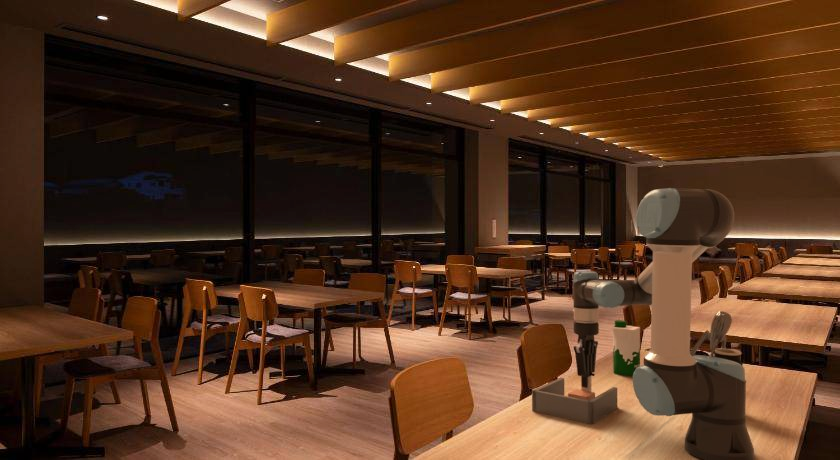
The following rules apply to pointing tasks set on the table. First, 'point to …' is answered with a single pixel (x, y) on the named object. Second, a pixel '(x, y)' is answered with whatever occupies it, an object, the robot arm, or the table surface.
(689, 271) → the robot arm
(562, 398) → the bin
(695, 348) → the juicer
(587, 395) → the tile block
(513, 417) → the table surface
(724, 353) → the travel mug
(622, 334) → the milk carton
